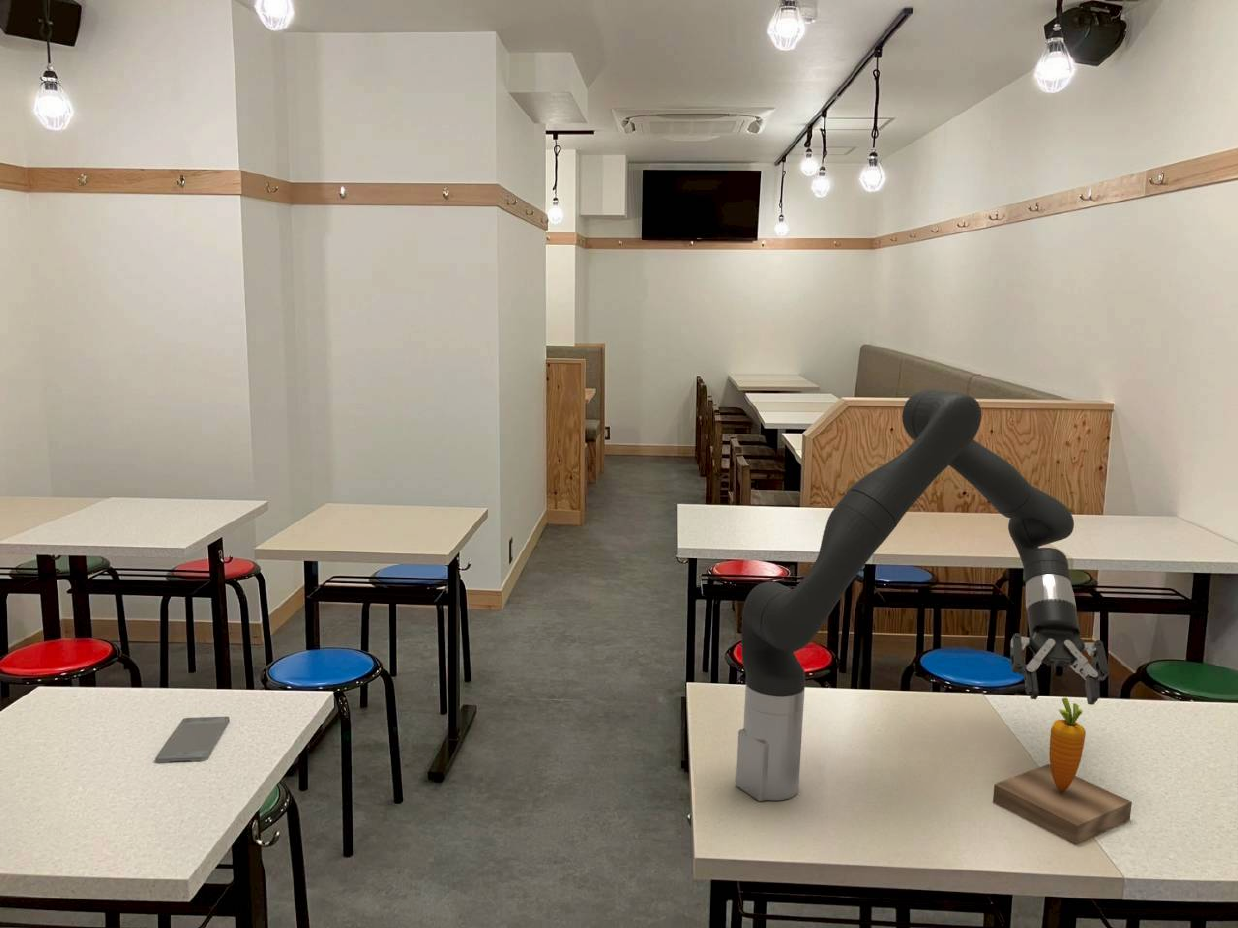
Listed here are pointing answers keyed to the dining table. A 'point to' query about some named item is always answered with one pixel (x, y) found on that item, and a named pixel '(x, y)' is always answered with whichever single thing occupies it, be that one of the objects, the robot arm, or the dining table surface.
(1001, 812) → the dining table surface
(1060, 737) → the carrot
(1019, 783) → the walnut plinth
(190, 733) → the phone
